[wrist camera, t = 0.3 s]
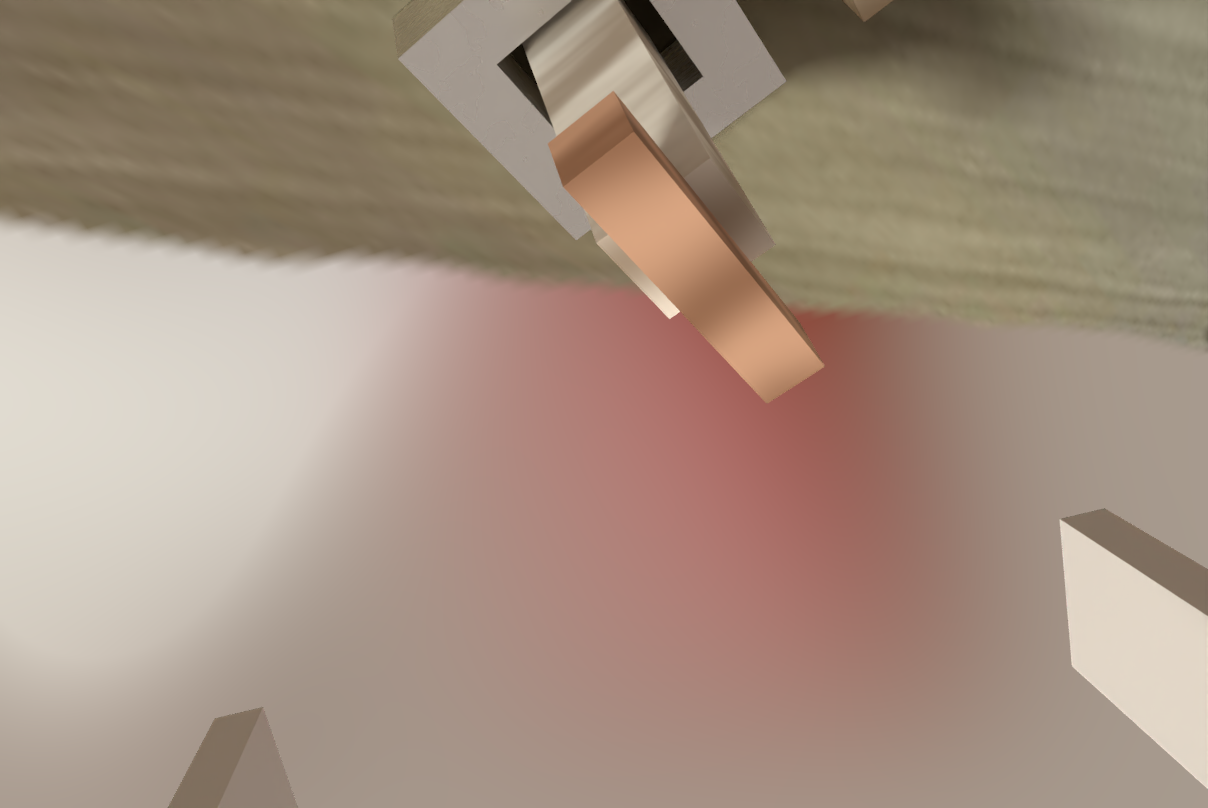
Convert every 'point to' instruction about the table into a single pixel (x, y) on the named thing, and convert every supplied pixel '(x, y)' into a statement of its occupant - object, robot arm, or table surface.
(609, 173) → the t-key
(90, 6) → the table surface
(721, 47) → the plate
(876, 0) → the block
